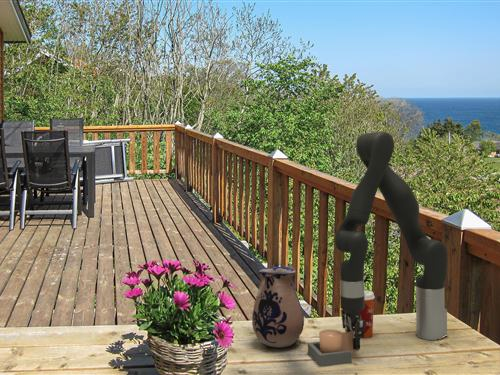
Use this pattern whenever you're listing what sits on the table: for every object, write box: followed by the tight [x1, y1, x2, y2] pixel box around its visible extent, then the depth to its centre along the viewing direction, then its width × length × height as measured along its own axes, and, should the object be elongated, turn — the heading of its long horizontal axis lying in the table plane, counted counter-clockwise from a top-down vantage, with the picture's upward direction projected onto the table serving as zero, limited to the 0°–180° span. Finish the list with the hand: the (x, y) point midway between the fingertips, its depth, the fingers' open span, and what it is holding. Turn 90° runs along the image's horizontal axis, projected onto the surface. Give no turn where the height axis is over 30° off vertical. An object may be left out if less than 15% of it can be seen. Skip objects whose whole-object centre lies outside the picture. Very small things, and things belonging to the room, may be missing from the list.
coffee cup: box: [354, 289, 375, 339], centre depth 204 cm, size 8×8×15 cm
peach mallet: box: [318, 328, 360, 354], centre depth 185 cm, size 12×7×8 cm, turn 103°
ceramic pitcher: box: [251, 265, 305, 349], centre depth 200 cm, size 18×21×25 cm
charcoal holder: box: [307, 341, 353, 368], centre depth 185 cm, size 10×11×4 cm
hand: (353, 346), depth 186 cm, fingers open, 4 cm apart
